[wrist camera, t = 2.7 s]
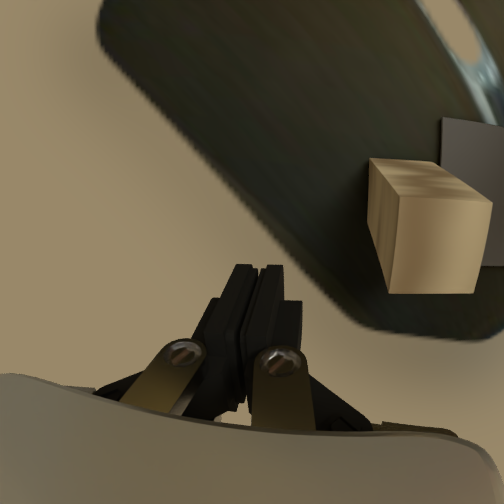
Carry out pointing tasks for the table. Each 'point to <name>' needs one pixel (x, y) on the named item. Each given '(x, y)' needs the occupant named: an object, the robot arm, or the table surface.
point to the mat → (478, 172)
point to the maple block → (426, 227)
